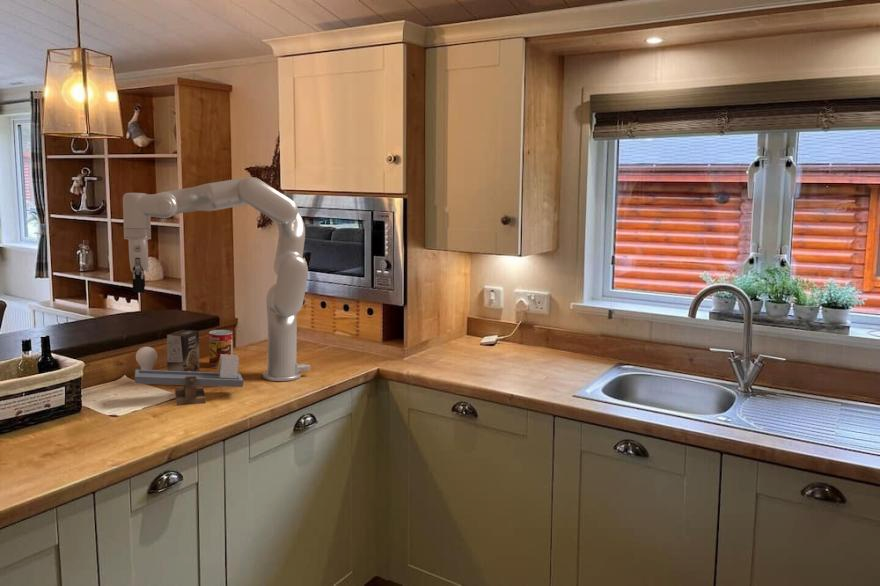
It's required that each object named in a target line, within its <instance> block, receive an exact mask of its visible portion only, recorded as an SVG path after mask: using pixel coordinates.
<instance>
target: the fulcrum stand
mask: <svg viewBox="0 0 880 586" xmlns="http://www.w3.org/2000/svg"><path fill="white" fill-rule="evenodd" d="M184 371H191V372H194V367H184ZM174 390H175V391H174V395H175V403H176V406H186V405H187V406H188V405H189V406H190V405H200V404H201V405H202V404H206V402H207V401H206V395H205V390H204V387H203V386H197V385H196V376H185V385H184V386H183V387H175V388H174Z"/></svg>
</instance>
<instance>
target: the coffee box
mask: <svg viewBox="0 0 880 586" xmlns="http://www.w3.org/2000/svg"><path fill="white" fill-rule="evenodd" d="M166 346H167V347H166V355H167V357H166V360H167V361H166V367H167V370H166V371H184V367H194V372H200V331H199V330H190V329H187V330H186V329H181V330H178V331H174V332H171V333H169V334H166ZM182 386H183V387H184V385H182Z"/></svg>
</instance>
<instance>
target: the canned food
mask: <svg viewBox="0 0 880 586" xmlns="http://www.w3.org/2000/svg"><path fill="white" fill-rule="evenodd" d="M233 339H234V338H233V331H232V330H229V329H215V330H214V329H213V330H211V331H209V332H208V353H209V354H208V358H209V360H208V361H209V363H208V365H209V367H210V368H213V369H219V362H220V354H228V355H234V354H233V351H234V350H233V348H234V347H233V345H234V343H233Z"/></svg>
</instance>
